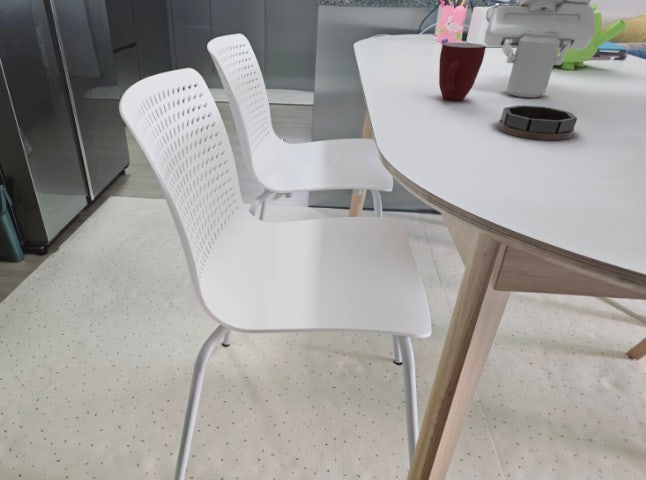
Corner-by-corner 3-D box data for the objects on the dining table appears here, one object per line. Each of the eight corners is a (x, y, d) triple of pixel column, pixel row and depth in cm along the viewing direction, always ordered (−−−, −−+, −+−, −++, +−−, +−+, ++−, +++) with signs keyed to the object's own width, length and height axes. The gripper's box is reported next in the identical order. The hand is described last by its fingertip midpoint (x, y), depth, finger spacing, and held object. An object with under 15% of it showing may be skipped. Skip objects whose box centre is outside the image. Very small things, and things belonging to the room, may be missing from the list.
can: (502, 90, 103) (518, 29, 97) (538, 92, 102) (557, 30, 95) (509, 97, 97) (526, 32, 90) (548, 99, 96) (568, 33, 89)
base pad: (563, 124, 79) (568, 107, 78) (580, 143, 70) (586, 124, 69) (494, 119, 81) (498, 103, 80) (501, 137, 73) (506, 118, 71)
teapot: (597, 75, 121) (622, 5, 112) (515, 65, 134) (531, 1, 126) (626, 66, 135) (651, 3, 127) (549, 58, 148) (567, 0, 140)
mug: (470, 107, 89) (483, 50, 84) (427, 103, 92) (437, 47, 87) (475, 97, 97) (487, 44, 92) (435, 93, 100) (445, 41, 95)
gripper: (491, -8, 97) (484, 49, 95) (600, -7, 93) (596, 53, 90) (484, 15, 103) (477, 69, 101) (586, 17, 99) (582, 74, 96)
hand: (534, 62), depth 95 cm, fingers closed on can, 7 cm apart
